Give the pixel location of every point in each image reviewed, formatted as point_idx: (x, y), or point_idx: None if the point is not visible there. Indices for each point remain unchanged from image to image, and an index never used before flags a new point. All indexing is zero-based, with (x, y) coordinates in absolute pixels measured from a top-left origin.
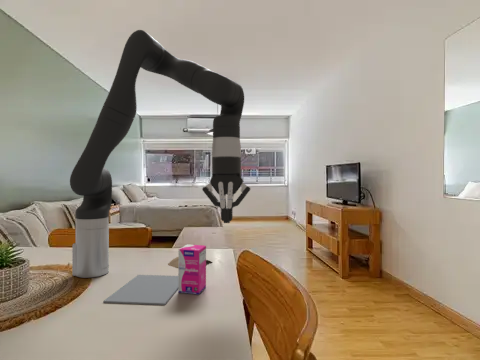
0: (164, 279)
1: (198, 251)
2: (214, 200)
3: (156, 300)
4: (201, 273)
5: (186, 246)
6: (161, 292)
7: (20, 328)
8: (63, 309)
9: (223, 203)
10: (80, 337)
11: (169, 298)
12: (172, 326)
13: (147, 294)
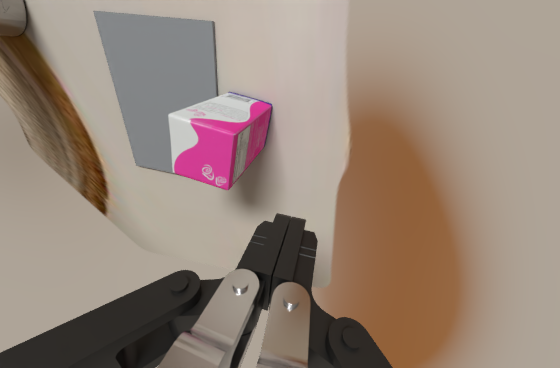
0: (169, 54)
1: (228, 189)
2: (164, 348)
3: None
4: (254, 147)
5: (179, 144)
6: None
7: (113, 215)
8: (110, 179)
9: (237, 345)
10: (175, 238)
11: None
12: (250, 236)
13: None
